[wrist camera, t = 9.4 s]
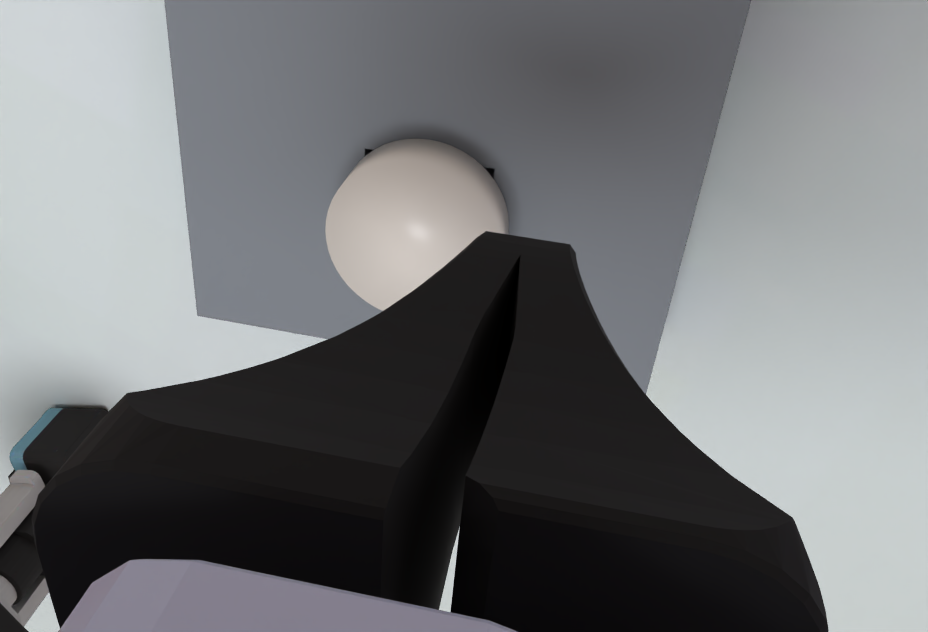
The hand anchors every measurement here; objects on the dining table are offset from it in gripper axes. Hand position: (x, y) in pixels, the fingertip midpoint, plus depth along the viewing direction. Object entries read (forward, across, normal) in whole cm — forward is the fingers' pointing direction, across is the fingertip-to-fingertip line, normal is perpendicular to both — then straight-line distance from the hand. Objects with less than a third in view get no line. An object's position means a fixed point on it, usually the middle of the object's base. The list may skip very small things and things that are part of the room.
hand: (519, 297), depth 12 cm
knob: (+9, +3, +3) cm, 10 cm away
